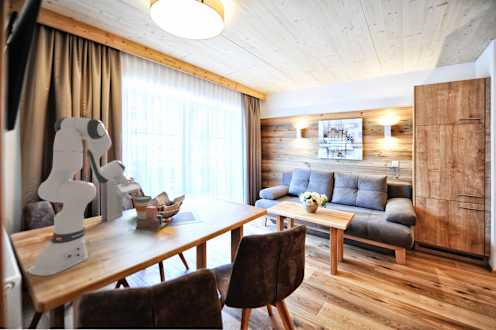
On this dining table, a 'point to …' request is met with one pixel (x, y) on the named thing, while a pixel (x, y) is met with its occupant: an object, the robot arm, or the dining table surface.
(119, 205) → the tall upright panel
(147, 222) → the shelf
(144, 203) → the reusable coffee cup
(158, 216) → the bookend
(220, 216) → the dining table surface
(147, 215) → the book
